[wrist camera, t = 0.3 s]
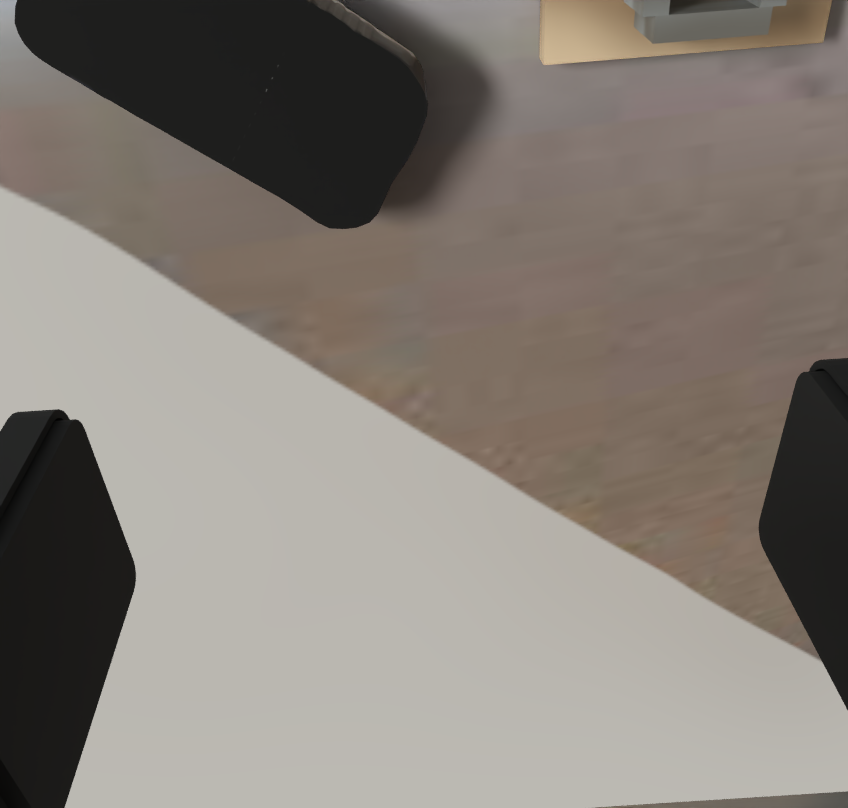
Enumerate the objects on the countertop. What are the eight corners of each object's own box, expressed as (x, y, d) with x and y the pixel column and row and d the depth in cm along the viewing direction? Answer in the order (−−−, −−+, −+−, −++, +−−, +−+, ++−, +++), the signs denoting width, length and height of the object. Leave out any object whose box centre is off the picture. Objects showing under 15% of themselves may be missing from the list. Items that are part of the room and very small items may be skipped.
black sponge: (446, 66, 36) (452, 89, 33) (349, 217, 40) (347, 249, 37) (87, -183, 30) (55, -182, 27) (16, 22, 34) (-18, 42, 31)
